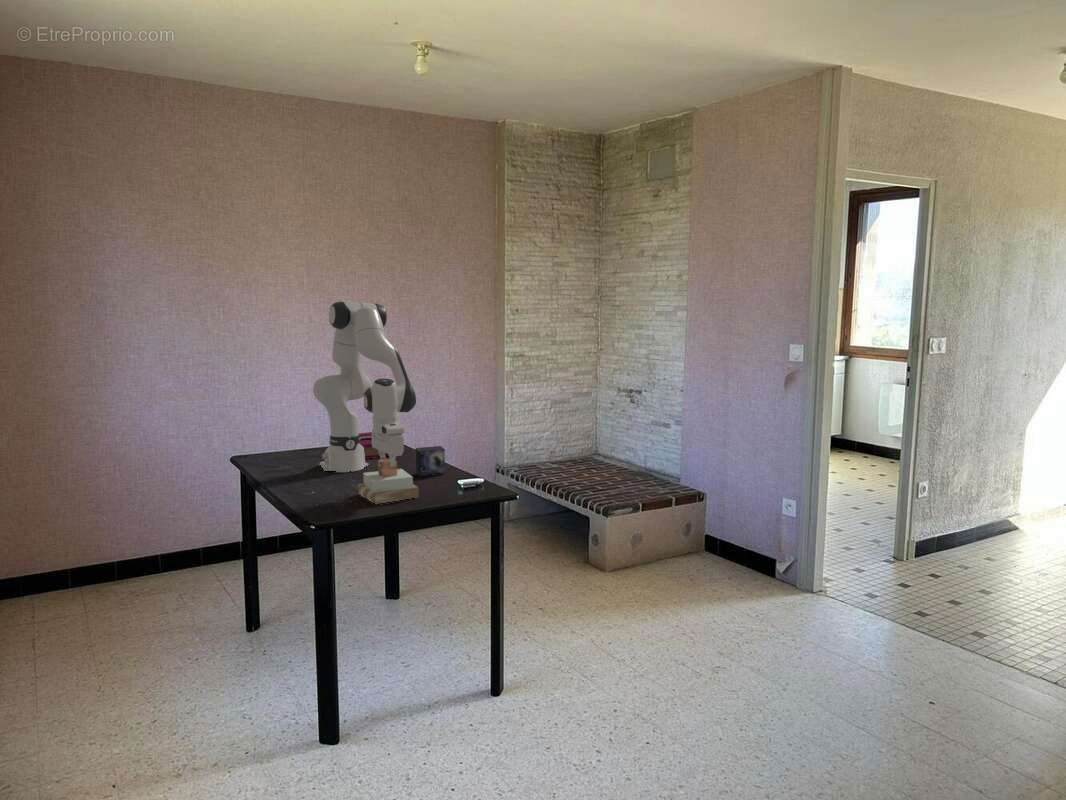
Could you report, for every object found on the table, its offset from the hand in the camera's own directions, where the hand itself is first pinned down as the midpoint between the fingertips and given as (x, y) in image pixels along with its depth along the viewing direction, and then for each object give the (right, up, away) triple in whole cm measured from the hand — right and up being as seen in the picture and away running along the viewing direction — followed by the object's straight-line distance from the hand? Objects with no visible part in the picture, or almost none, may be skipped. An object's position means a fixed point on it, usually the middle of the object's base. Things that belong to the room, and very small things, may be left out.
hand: (387, 464), depth 269 cm
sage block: (0, -8, +1) cm, 8 cm away
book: (-23, -2, +77) cm, 80 cm away
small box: (+11, -7, +34) cm, 37 cm away
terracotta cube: (0, -4, +1) cm, 4 cm away
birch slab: (0, -12, +2) cm, 12 cm away
